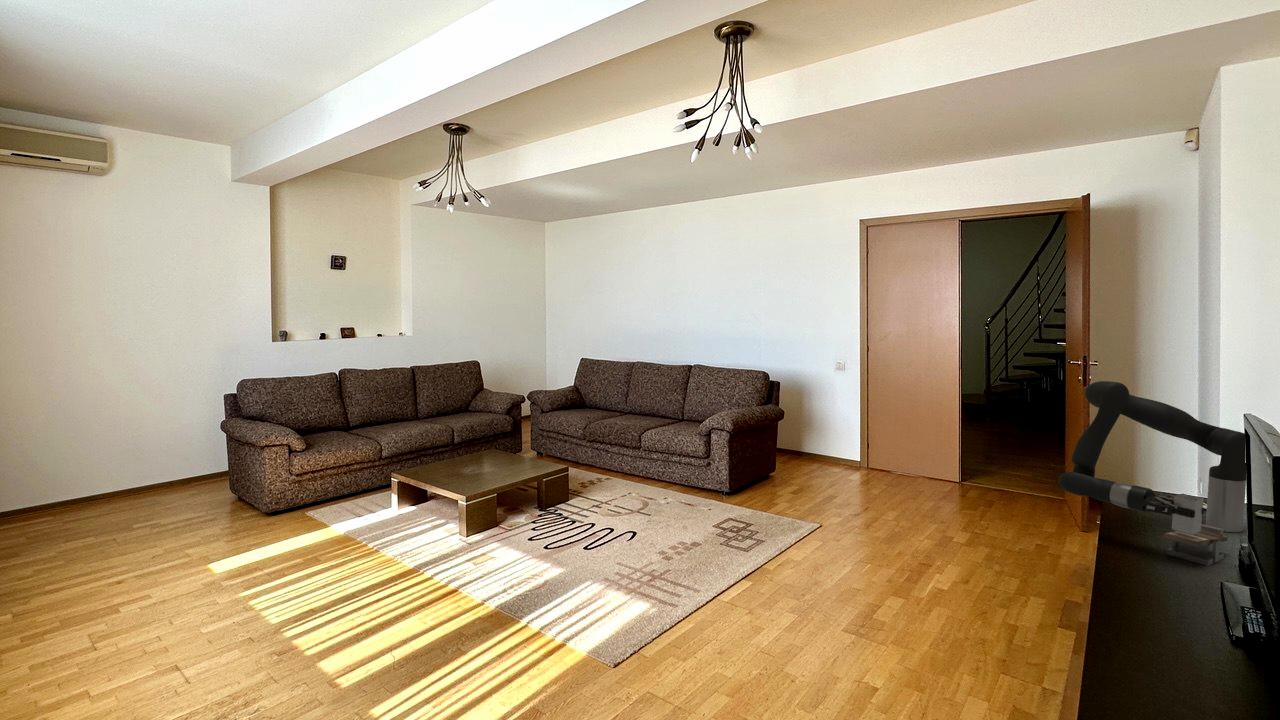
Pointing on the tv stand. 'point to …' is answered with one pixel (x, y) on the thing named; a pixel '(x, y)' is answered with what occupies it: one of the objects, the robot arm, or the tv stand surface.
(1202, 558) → the pivot stand
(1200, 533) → the balance beam
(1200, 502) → the weight block
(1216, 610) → the tv stand surface
